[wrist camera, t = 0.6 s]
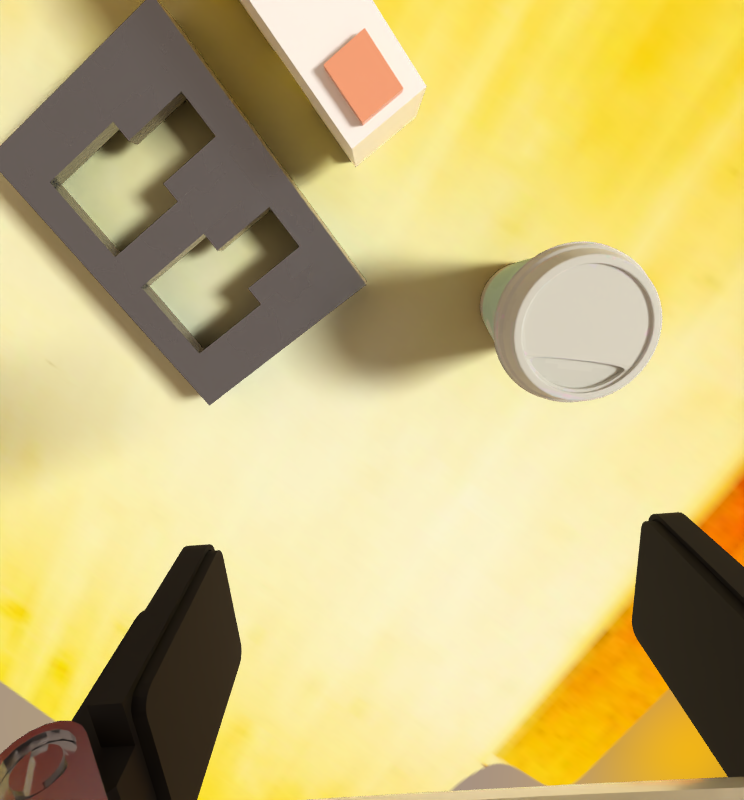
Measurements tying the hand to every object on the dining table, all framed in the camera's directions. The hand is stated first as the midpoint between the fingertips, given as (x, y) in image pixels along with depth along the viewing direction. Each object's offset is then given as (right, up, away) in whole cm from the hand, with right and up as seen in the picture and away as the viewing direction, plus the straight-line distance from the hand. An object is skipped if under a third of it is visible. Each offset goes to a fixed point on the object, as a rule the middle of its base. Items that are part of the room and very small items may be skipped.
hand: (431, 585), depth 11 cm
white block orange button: (-5, +26, +20) cm, 34 cm away
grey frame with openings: (-13, +16, +24) cm, 32 cm away
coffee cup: (+9, +11, +25) cm, 29 cm away
